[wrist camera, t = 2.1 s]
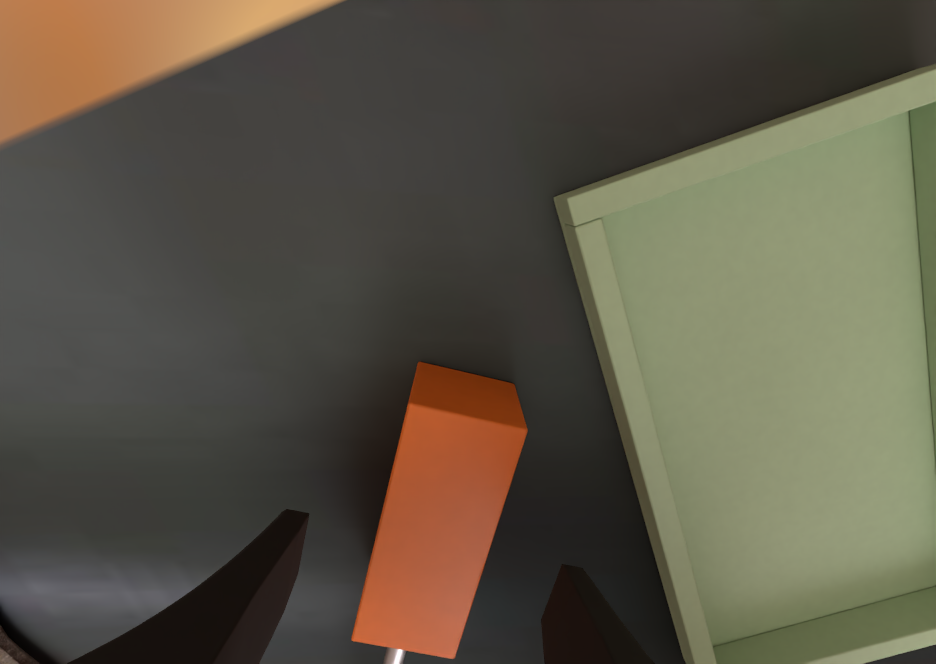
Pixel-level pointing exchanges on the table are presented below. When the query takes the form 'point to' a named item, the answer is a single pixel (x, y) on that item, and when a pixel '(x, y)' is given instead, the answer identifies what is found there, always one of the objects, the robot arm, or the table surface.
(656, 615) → the table surface
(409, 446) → the screwdriver
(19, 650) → the pliers
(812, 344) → the tray
